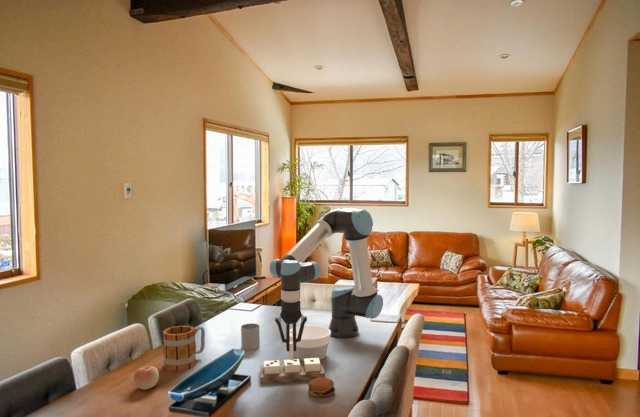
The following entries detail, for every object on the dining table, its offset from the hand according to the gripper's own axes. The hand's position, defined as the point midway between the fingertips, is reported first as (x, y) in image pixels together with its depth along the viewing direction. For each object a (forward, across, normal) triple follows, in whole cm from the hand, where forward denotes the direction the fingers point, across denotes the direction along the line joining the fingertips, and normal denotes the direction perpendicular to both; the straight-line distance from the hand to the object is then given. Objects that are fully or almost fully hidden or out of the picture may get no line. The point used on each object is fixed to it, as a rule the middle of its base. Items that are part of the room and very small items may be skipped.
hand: (291, 359), depth 191 cm
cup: (+7, +17, -35) cm, 40 cm away
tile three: (+5, +8, 0) cm, 9 cm away
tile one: (+5, -8, 0) cm, 10 cm away
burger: (+7, -10, +17) cm, 21 cm away
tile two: (+5, 0, 0) cm, 5 cm away
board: (+7, 0, 0) cm, 7 cm away
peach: (+7, +55, +3) cm, 55 cm away
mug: (+7, +44, -20) cm, 49 cm away
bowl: (+7, -9, -20) cm, 23 cm away
